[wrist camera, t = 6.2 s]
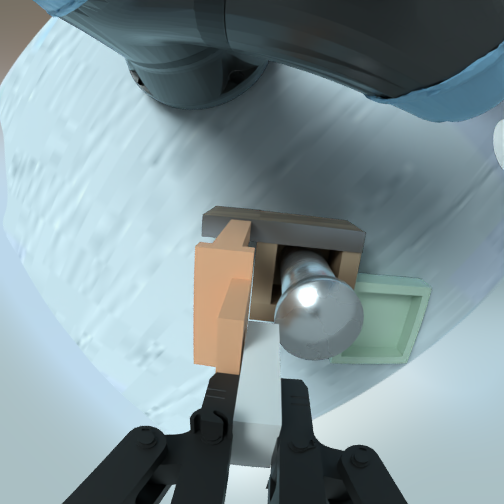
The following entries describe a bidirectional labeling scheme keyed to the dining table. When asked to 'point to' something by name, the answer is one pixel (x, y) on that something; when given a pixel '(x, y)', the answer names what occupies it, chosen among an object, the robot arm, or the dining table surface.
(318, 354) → the pin
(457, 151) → the dining table surface
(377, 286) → the dish
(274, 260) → the block
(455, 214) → the dining table surface
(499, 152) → the wineglass
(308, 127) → the dining table surface
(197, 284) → the keeper
